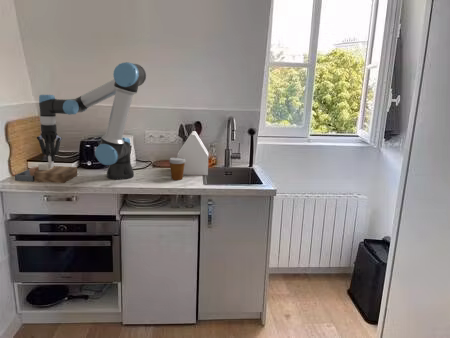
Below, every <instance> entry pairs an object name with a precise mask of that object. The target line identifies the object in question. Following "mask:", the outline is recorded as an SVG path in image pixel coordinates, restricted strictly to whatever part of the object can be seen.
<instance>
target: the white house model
mask: <svg viewBox="0 0 450 338" xmlns="http://www.w3.org/2000/svg"><path fill="white" fill-rule="evenodd" d="M176 157H181V158H184V159H185V161H186V162H185V165H184V172H183V175H185V176H187V175H188V176H190V175H191V176H193V175H194V176H209V151H208V149H207V147H206V146H205V144H204V143H203V141H202V139H201V138H200V136H199V134H198V133H197V131H195V130H194V131H193V130H192V131H191V133H190V134H189V136H188V138H187V139H186V140H185V142H184V143H183V144H182V146H181V148H180V149H179V150H178V152H177V155H176Z"/></svg>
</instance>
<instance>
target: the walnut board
mask: <svg viewBox="0 0 450 338" xmlns="http://www.w3.org/2000/svg"><path fill="white" fill-rule="evenodd" d="M77 176H78V167H77V166H63V165H60V166H58V165H54V167H52V169H50V170H38V171H36V172H34V180H35V181H34V182H36V183H37V182H39V183H56V184H57V183H58V184H59V183H60V184H66V183H67V182H68V181H71V180H72V179H74V178H76V177H77Z"/></svg>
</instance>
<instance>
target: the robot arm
mask: <svg viewBox="0 0 450 338" xmlns="http://www.w3.org/2000/svg"><path fill="white" fill-rule="evenodd" d="M112 75H113V79H112V80H110V81H107V82H105V83H103V84H102V85H100V86H97V87H95V88H94V89H92V90H90V91H88V92H86V93H84V94H82V95H80V96H78V97H76V98H71V99H57V98H56V97H55V95H53V94H40V95H39V96H38V107H39V119H40V120H39V121H40V131H41V133H40V135H39V136H37V137H36V139H37V141H38V143H39V147H40V149H41V152H42V154H43V155H45V156H46V162H47V163H48V164H49V168H52V167H54V166H55V165H54V162H55V161H56V158H55V156H56V155H58V154H59V150H60V145H61V142H62V139H63V138H62V137H60V136H59V135H58V132H57V129H58V128H57V116H56V115H57V114H60V115H61V114H62V115H70V116H71V115H76V114H77V113H83V112H85V111H87V110H88V109H90V108H91V107H93V106H96V105H98V104H99V103H102V102H103V101H105V100H107V99H110V98H112V97H113V96H114V97H113V103H112V107H111V111H110V115H109V119H108V123H107V127H106V132H105V134H104V135H102V137H101V139H100V144H99V145H98V146H97V147H96V149H95V151H94V156H95V158H96V160H97V162H99V163H100V164H102V165H103V166H108V167H107V171H106V177H107V178H108V179H111V180H129V179H132V178H133V177H134V176H135V171H134V169H133V166H132V163H131V161H132V160H131V145H132V144H131V139H130V138H129V137H123V136H124V134H125V133H124V132H125V129H126V125H127V120H128V118H129V117H128V116H129V112H130V109H131V104H132V102H133V101H132V100H133V97H134V95H136V94H137V93H138V91H139V90H138V89H139V87H141V86H142V85H143V84H144V82H146V79H147V72H146V71H145V68H144V67H143V66H142V65H140V64H138V63H134V62H133V63H132V62H127V61H126V62H121V63H119V64H117V65H116V67H114V70H113V73H112Z"/></svg>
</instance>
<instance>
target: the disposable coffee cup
mask: <svg viewBox="0 0 450 338" xmlns="http://www.w3.org/2000/svg"><path fill="white" fill-rule="evenodd" d="M168 162H169V166H170V167H169V168H170V175H171V176H170V177H171V180H173V181H181V180H183V177H184V174H183V172H184V165H185V162H186V161H185V159H184V158H181V157H177V156H176V157H174V156H173V157H170V158H169V161H168Z"/></svg>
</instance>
